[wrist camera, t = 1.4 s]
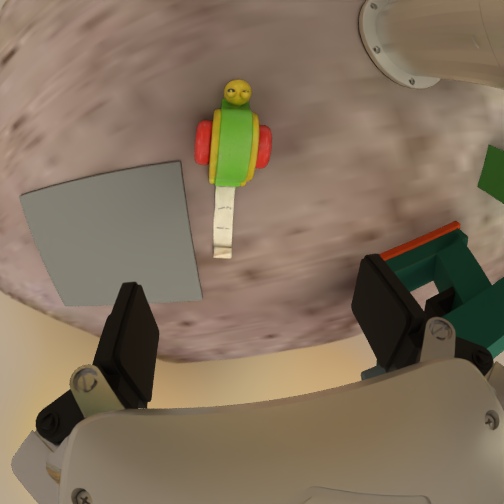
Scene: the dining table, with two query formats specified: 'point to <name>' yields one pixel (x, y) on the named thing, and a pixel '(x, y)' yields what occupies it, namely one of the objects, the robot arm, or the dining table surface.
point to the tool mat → (116, 235)
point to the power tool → (451, 287)
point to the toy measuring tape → (231, 156)
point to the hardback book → (493, 174)
